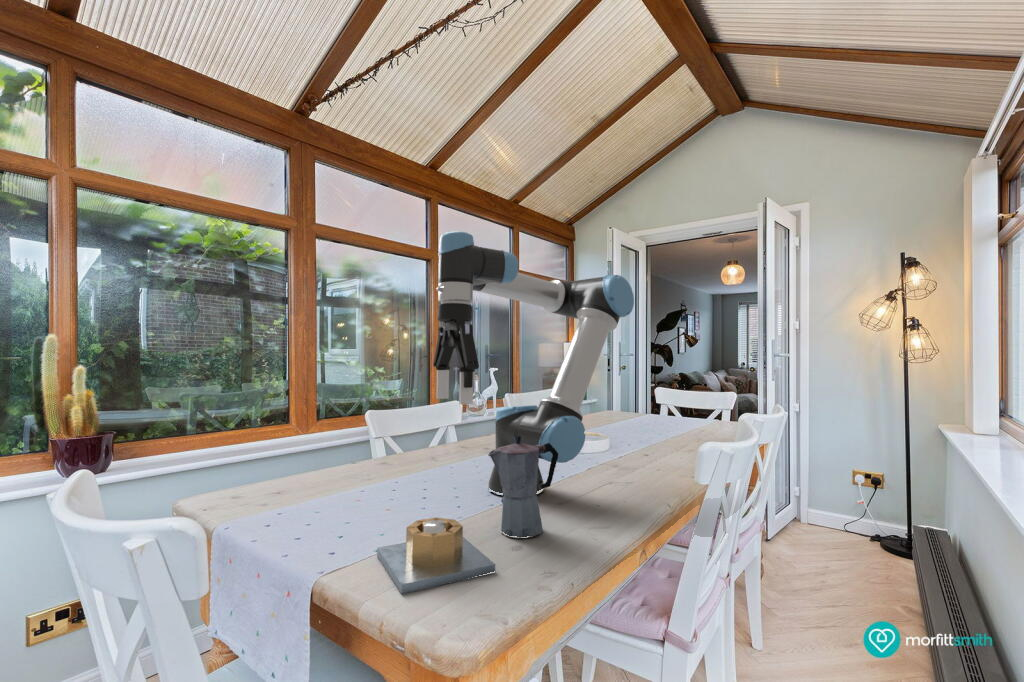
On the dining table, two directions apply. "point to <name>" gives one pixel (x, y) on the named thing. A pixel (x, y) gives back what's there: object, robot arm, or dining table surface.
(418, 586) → the peg base plate
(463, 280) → the robot arm
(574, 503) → the dining table surface
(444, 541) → the ring
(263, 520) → the dining table surface
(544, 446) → the moka pot
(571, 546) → the dining table surface
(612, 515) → the dining table surface
